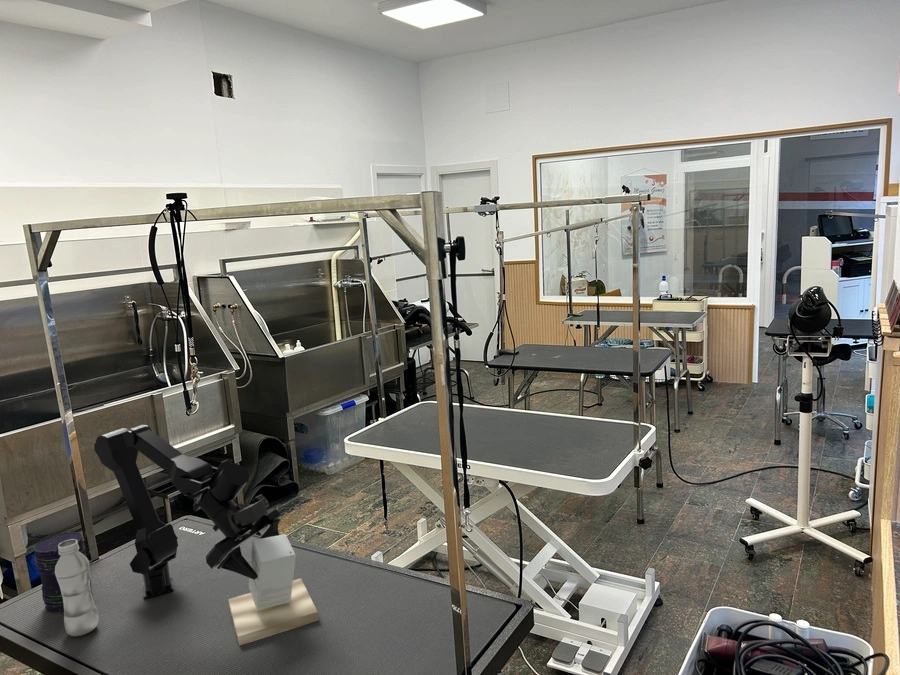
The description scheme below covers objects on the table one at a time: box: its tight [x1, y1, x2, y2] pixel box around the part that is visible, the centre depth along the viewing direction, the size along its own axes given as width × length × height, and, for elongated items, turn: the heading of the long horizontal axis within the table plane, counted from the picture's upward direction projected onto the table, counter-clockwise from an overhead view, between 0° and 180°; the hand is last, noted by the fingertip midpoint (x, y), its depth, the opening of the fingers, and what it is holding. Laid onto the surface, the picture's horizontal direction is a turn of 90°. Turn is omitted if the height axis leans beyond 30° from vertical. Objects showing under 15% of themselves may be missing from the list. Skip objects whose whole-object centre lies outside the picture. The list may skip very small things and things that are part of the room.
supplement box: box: [248, 533, 297, 610], centre depth 138 cm, size 7×7×13 cm
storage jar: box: [33, 531, 94, 615], centre depth 152 cm, size 10×10×15 cm
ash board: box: [227, 578, 319, 646], centre depth 141 cm, size 16×16×2 cm
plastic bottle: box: [55, 539, 99, 637], centre depth 139 cm, size 6×7×20 cm
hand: (271, 566), depth 139 cm, fingers closed on supplement box, 9 cm apart
